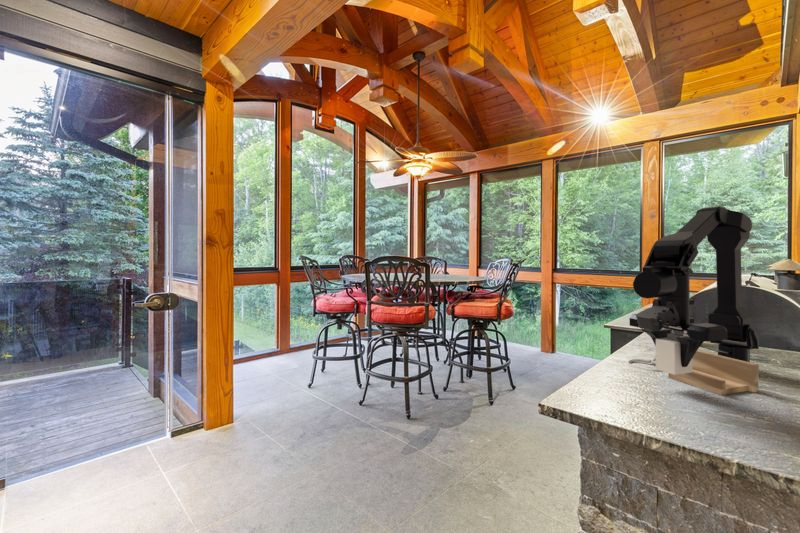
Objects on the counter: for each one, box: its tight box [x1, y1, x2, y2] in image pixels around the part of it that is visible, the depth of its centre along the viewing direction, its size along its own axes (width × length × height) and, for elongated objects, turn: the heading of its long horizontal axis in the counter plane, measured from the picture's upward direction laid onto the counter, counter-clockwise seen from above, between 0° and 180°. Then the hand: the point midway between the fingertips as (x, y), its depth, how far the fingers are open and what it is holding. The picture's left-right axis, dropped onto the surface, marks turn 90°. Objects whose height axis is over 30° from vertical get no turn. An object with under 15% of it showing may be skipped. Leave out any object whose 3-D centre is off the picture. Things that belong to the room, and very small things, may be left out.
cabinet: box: [655, 333, 692, 375], centre depth 84 cm, size 5×4×8 cm
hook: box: [626, 356, 662, 372], centre depth 104 cm, size 7×9×20 cm
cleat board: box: [667, 349, 760, 396], centre depth 87 cm, size 9×14×6 cm, turn 14°
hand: (673, 363), depth 84 cm, fingers closed on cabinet, 4 cm apart
